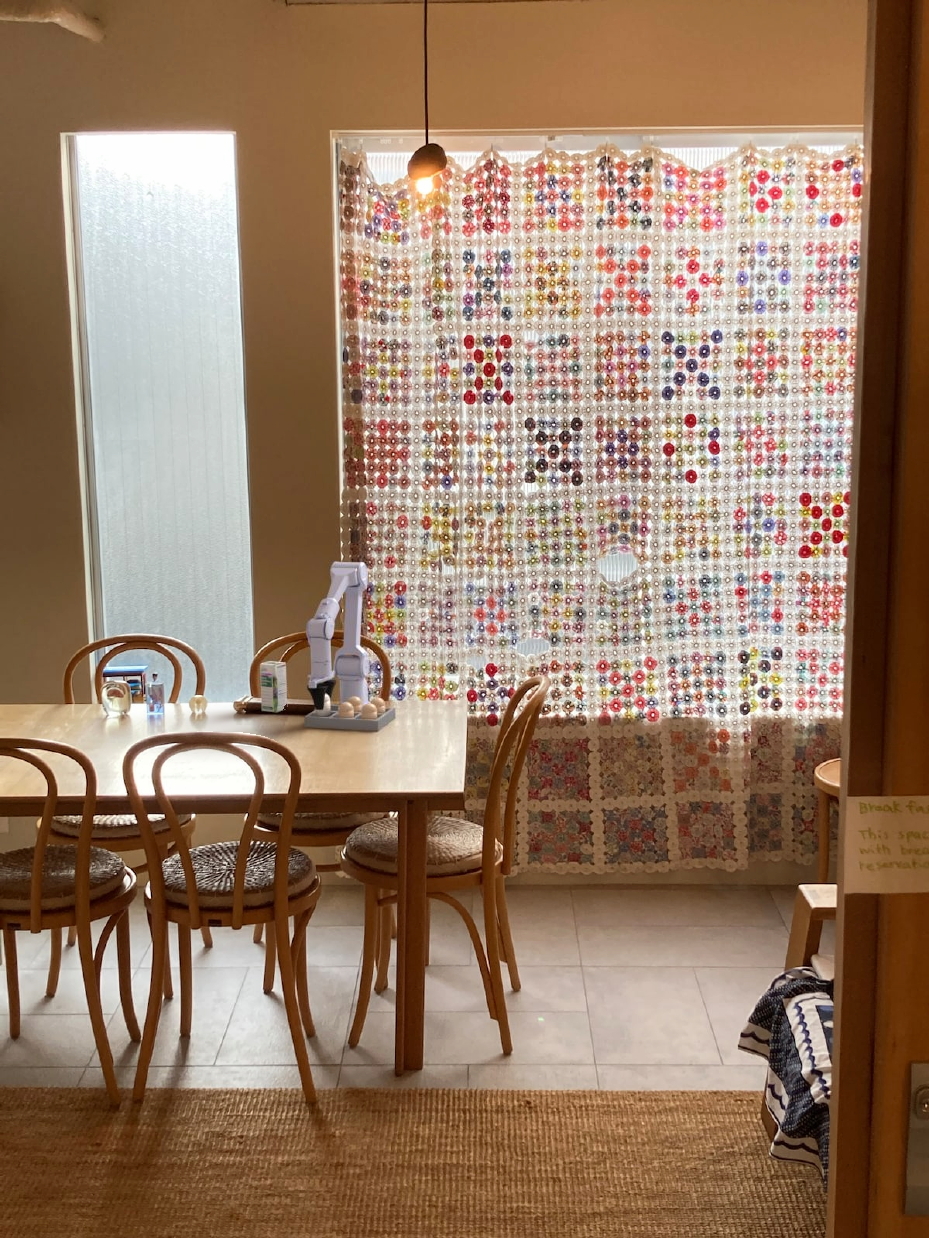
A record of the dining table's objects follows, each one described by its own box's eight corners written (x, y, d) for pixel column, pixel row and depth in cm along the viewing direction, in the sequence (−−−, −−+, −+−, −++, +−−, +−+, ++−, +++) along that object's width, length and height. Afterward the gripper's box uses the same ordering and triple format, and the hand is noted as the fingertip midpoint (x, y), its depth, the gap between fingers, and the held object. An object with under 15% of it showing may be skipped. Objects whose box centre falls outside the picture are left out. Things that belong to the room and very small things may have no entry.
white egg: (318, 711, 332) (317, 690, 331) (333, 712, 331) (332, 691, 330) (312, 715, 328) (311, 694, 327) (327, 716, 327) (326, 695, 326)
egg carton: (324, 714, 341) (324, 691, 340) (395, 718, 336) (394, 695, 335) (304, 726, 327) (303, 703, 326) (378, 731, 321) (377, 707, 320)
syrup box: (261, 711, 347) (258, 663, 344) (273, 706, 352) (271, 659, 349) (276, 712, 344) (274, 665, 342) (288, 708, 349) (286, 661, 347)
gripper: (317, 655, 335) (319, 700, 337) (297, 665, 321) (299, 712, 323) (340, 656, 333) (342, 702, 335) (321, 666, 319) (323, 714, 321)
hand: (322, 707), depth 329 cm, fingers closed on white egg, 4 cm apart
